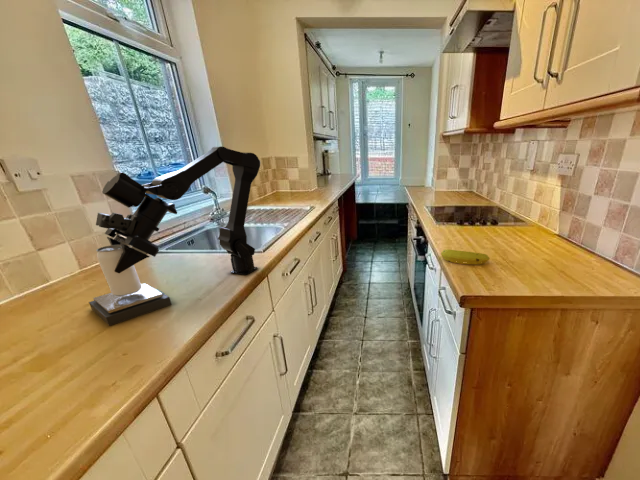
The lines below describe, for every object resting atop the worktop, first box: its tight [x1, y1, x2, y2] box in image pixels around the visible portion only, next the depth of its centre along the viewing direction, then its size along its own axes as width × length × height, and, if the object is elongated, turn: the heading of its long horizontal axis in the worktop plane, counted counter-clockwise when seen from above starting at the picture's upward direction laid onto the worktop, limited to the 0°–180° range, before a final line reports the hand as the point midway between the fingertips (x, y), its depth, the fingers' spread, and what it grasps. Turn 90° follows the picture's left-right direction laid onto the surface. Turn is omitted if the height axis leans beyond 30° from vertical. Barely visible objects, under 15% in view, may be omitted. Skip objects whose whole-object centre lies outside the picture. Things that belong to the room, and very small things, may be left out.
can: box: [95, 244, 142, 296], centre depth 82 cm, size 6×6×12 cm
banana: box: [440, 248, 490, 265], centre depth 120 cm, size 5×17×15 cm
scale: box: [88, 284, 172, 327], centre depth 86 cm, size 14×14×2 cm
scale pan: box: [92, 283, 163, 313], centre depth 85 cm, size 12×12×1 cm
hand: (112, 269), depth 81 cm, fingers closed on can, 6 cm apart
